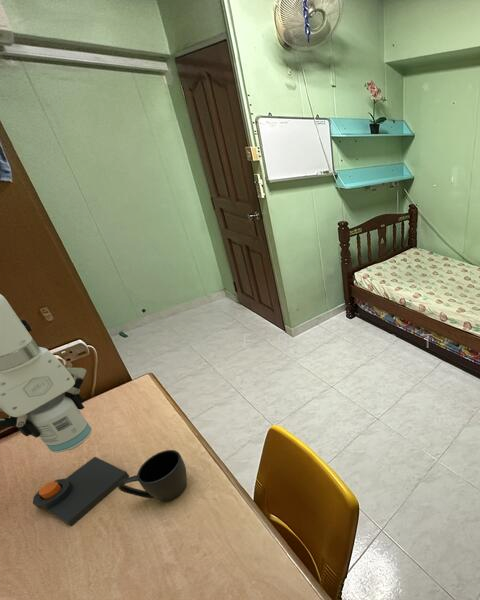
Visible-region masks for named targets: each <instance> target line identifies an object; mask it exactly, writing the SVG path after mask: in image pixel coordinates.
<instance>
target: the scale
mask: <svg viewBox="0 0 480 600" xmlns="http://www.w3.org/2000/svg"><path fill="white" fill-rule="evenodd" d="M128 477H130V475H129V473H128V472H127V471H125V470H123V469H122V468H120V467H118V466H115V465H113V464H111V463H109V462H107V461H105V460H103V459H101V458H99V457H97V456H94V457H92V458H91V459H90V460H88V461H87V462H85V463H84V464H82V466H80V467H79V468H78V469H76V470H74V472H73V473H71V474H70V475H68V476H67V477H65V478H59V479H55V480H54V481H55V482H57V483H58V484H59V485H60V486H61V490H60V491H59V492H58V493H57V494H56V495H54V496H53V497H51V498H49V499H44V498H43V497H42V496H41V495H40V494H39V490H38V491H37V492H36V493H35V495H34V496H33V498H32V504H33V506H35V507H36V508H38V509H39V510H44V511H45V512H47V513H49V514H50V515H52V516H54V518H55V517H56V518H57V519H59V520H60V521H62V522H64V523H65V524H67V525H68V526H70V527H73V526H74V525H75V524H77V523H78V522H79V521H80V520H81V519H82V518H84V516H86V515H87V514H88V513H89V512H90V511H91V510H93V509H94V508H95V507H96V506H98V505H99V504H100V503H101V502H102V501H103V500H104V499H106V497H108V496H110V494H111V493H113V491H115V489H117V488H118V483H119V482H120V481H121V480H123V479H125V478H128Z"/></svg>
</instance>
